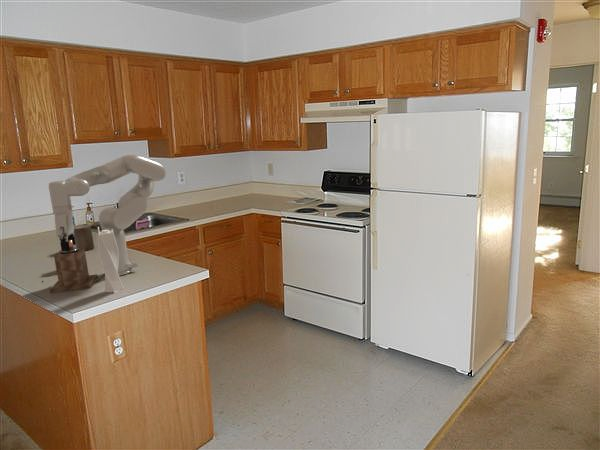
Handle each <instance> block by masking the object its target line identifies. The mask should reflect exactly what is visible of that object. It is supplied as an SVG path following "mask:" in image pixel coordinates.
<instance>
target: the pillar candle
mask: <svg viewBox="0 0 600 450" xmlns="http://www.w3.org/2000/svg"><path fill="white" fill-rule="evenodd" d="M73 233H74V237H75V243H76V245H75V247H77V248H85V252H86V251H91V250H93V249H95V244H94V236H93V230H92V226H91V224H81V225H77V226H74V232H73Z"/></svg>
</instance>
